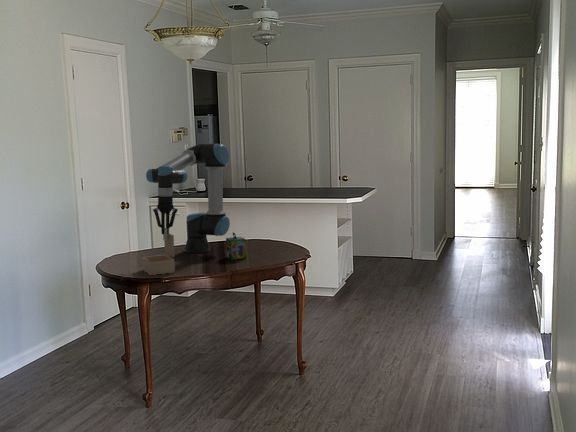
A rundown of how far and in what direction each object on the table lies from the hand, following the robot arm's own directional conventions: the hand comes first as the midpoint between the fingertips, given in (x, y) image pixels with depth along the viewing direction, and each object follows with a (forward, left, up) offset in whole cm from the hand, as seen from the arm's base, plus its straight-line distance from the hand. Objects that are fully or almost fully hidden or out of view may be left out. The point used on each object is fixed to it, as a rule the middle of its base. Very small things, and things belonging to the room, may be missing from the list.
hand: (165, 240), depth 329 cm
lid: (0, +2, -2) cm, 3 cm away
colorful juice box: (-9, +44, -17) cm, 48 cm away
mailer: (0, -4, -16) cm, 17 cm away
